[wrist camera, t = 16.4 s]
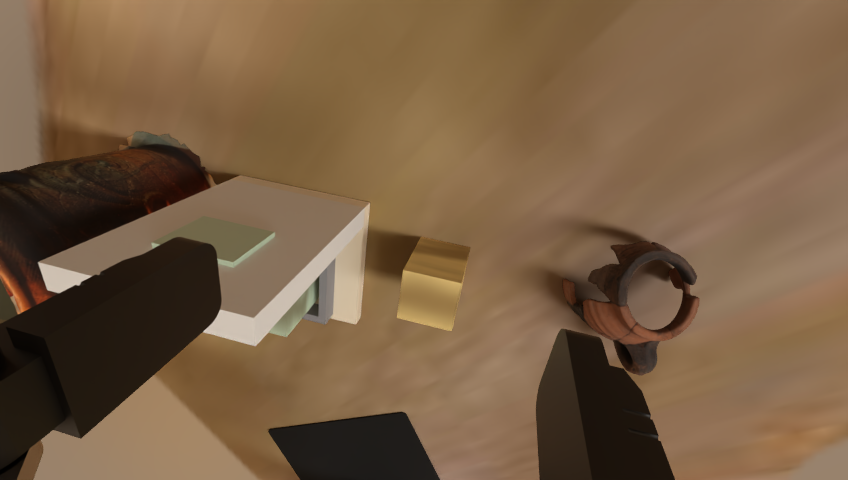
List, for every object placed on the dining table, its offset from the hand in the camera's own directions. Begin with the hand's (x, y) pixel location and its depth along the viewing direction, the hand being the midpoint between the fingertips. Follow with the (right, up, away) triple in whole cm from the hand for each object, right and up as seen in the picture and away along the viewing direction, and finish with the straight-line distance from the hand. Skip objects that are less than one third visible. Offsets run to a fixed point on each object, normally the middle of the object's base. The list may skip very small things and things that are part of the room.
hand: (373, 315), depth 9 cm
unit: (-12, +1, +34) cm, 36 cm away
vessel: (-27, +7, +35) cm, 45 cm away
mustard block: (+3, -1, +31) cm, 31 cm away
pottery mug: (+20, -3, +29) cm, 35 cm away
